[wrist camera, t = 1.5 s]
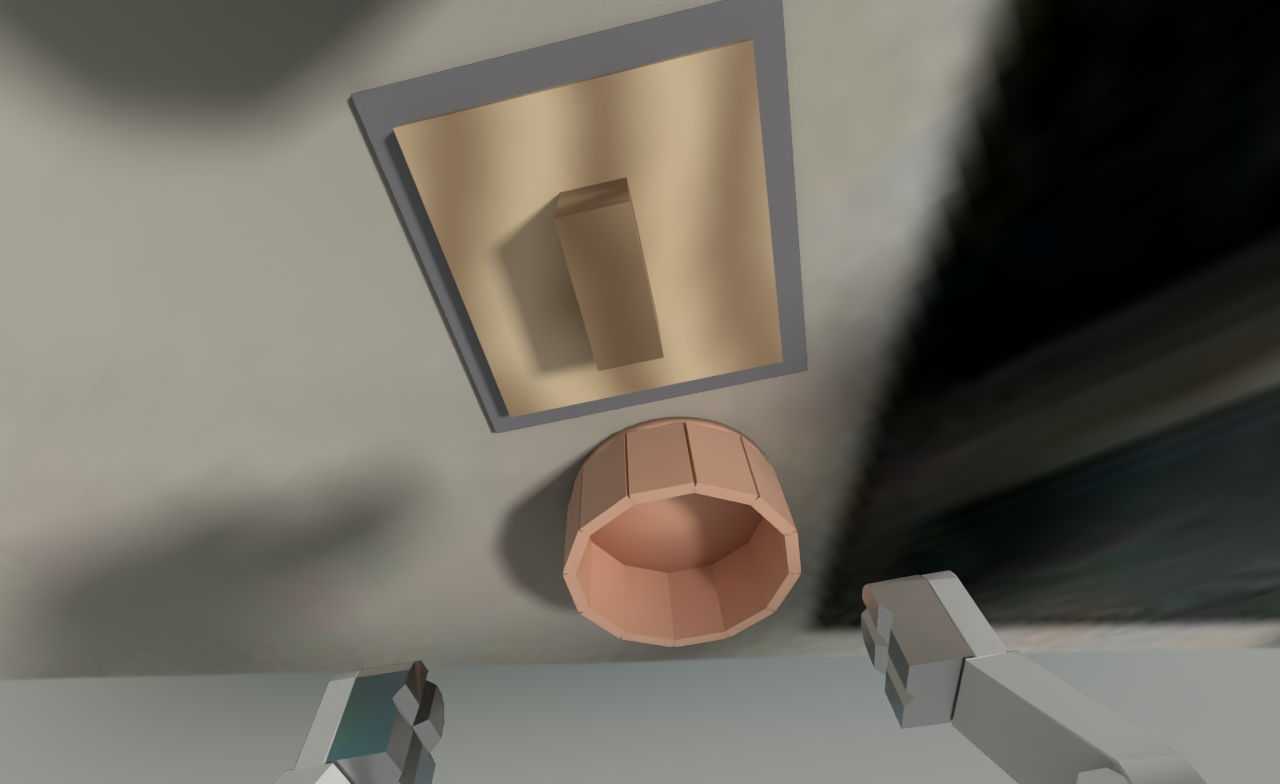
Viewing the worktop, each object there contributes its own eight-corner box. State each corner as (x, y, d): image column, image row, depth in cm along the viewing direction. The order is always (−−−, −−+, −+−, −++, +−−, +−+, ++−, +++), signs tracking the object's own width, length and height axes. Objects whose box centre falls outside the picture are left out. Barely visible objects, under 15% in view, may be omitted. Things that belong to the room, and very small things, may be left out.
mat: (778, -14, 24) (781, -14, 23) (805, 366, 33) (807, 370, 33) (353, 93, 25) (350, 94, 25) (497, 429, 35) (496, 433, 34)
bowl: (763, 397, 34) (790, 463, 29) (781, 549, 41) (806, 625, 36) (546, 440, 35) (536, 512, 30) (599, 582, 42) (599, 660, 37)
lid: (747, 38, 24) (777, 44, 20) (778, 352, 32) (804, 403, 28) (400, 124, 25) (358, 146, 21) (512, 407, 33) (499, 464, 29)
